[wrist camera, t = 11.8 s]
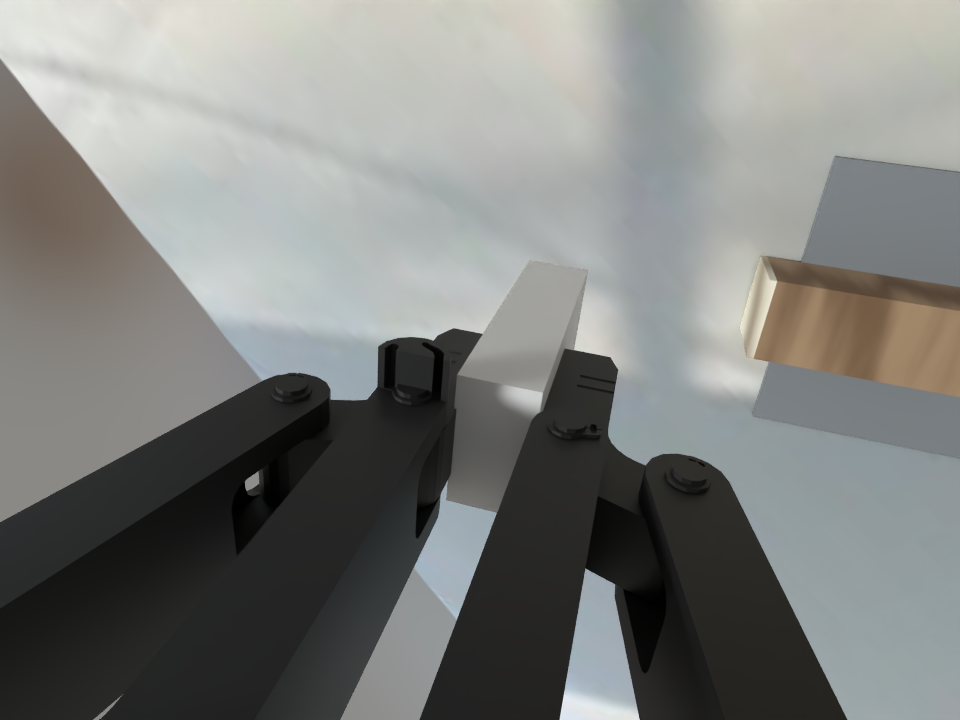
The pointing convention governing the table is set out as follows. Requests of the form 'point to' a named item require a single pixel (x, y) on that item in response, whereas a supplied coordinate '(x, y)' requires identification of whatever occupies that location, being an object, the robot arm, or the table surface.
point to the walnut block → (855, 324)
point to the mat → (886, 251)
